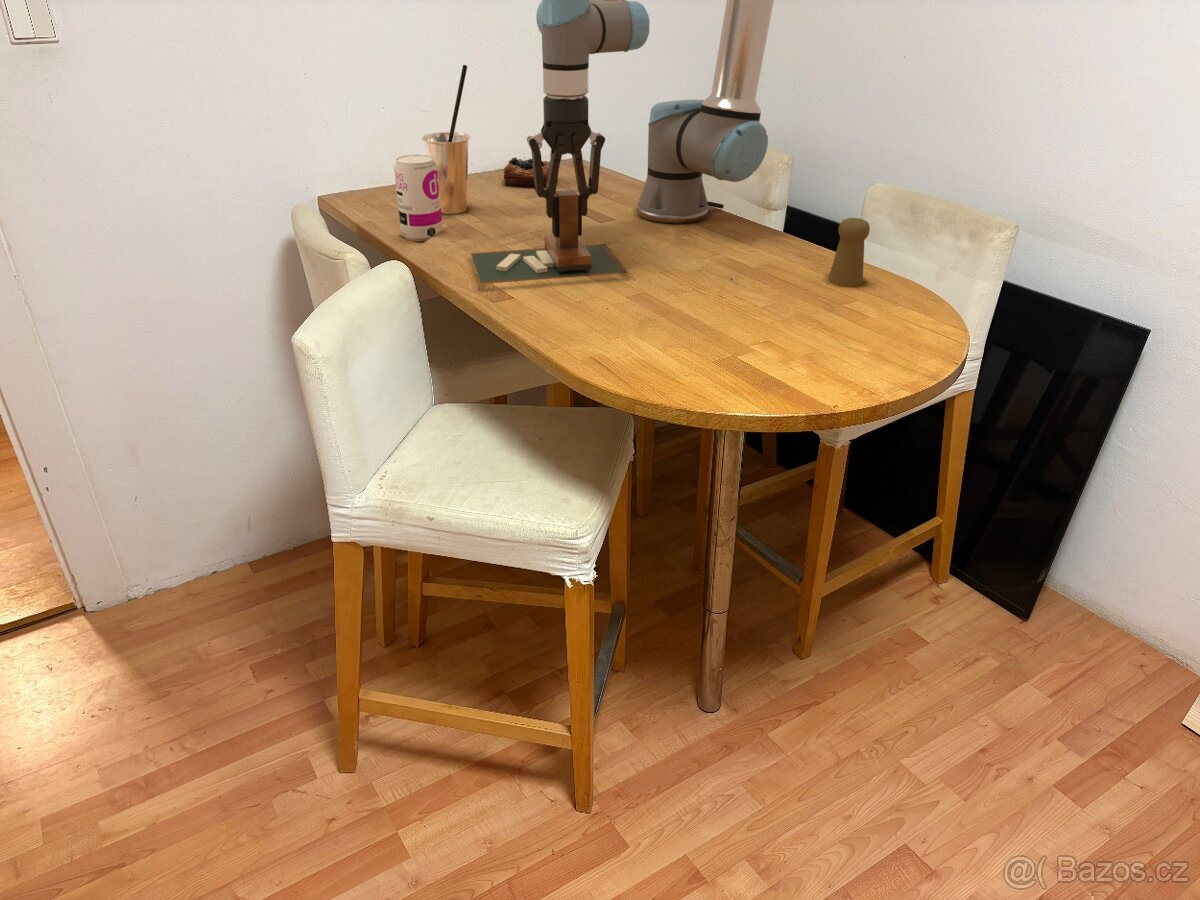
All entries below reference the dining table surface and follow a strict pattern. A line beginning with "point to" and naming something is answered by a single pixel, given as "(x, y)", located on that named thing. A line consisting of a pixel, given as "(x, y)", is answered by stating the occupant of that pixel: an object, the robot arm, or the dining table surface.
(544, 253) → the pale wooden block
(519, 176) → the pastry
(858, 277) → the brown pawn
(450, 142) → the copper cup with straw
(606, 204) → the dining table surface
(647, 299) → the dining table surface
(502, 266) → the cream rectangular block
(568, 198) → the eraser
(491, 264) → the chalkboard
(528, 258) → the cream wooden plank
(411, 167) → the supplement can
